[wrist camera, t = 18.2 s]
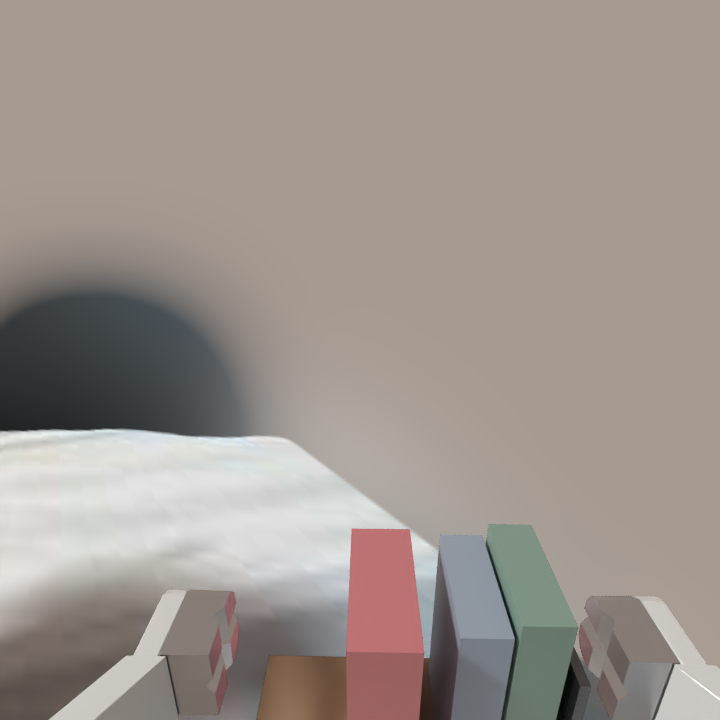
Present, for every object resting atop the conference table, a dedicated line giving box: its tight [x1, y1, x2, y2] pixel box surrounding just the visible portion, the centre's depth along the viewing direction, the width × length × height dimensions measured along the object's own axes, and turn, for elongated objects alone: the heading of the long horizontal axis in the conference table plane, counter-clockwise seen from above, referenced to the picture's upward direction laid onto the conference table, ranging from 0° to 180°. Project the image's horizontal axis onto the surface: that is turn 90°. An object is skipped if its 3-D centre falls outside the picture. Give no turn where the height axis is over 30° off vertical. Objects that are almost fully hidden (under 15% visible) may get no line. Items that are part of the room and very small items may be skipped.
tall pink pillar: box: [346, 529, 424, 720], centre depth 31 cm, size 4×9×15 cm, turn 179°
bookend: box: [556, 647, 591, 720], centre depth 33 cm, size 1×9×11 cm, turn 178°
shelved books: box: [429, 524, 578, 720], centre depth 32 cm, size 6×8×15 cm
